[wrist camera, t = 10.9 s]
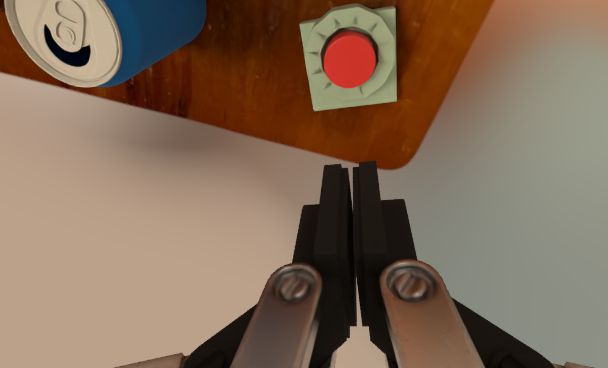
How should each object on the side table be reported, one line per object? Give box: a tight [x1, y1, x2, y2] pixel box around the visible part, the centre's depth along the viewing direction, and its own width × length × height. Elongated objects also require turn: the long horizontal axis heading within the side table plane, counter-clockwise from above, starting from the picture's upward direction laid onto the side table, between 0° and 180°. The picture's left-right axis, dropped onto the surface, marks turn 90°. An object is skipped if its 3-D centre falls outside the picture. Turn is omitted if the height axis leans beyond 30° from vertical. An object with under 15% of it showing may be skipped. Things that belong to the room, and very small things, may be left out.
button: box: [324, 30, 376, 88], centre depth 24 cm, size 4×4×2 cm
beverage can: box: [4, 0, 206, 87], centre depth 21 cm, size 6×6×12 cm
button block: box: [300, 3, 397, 111], centre depth 26 cm, size 8×7×3 cm
